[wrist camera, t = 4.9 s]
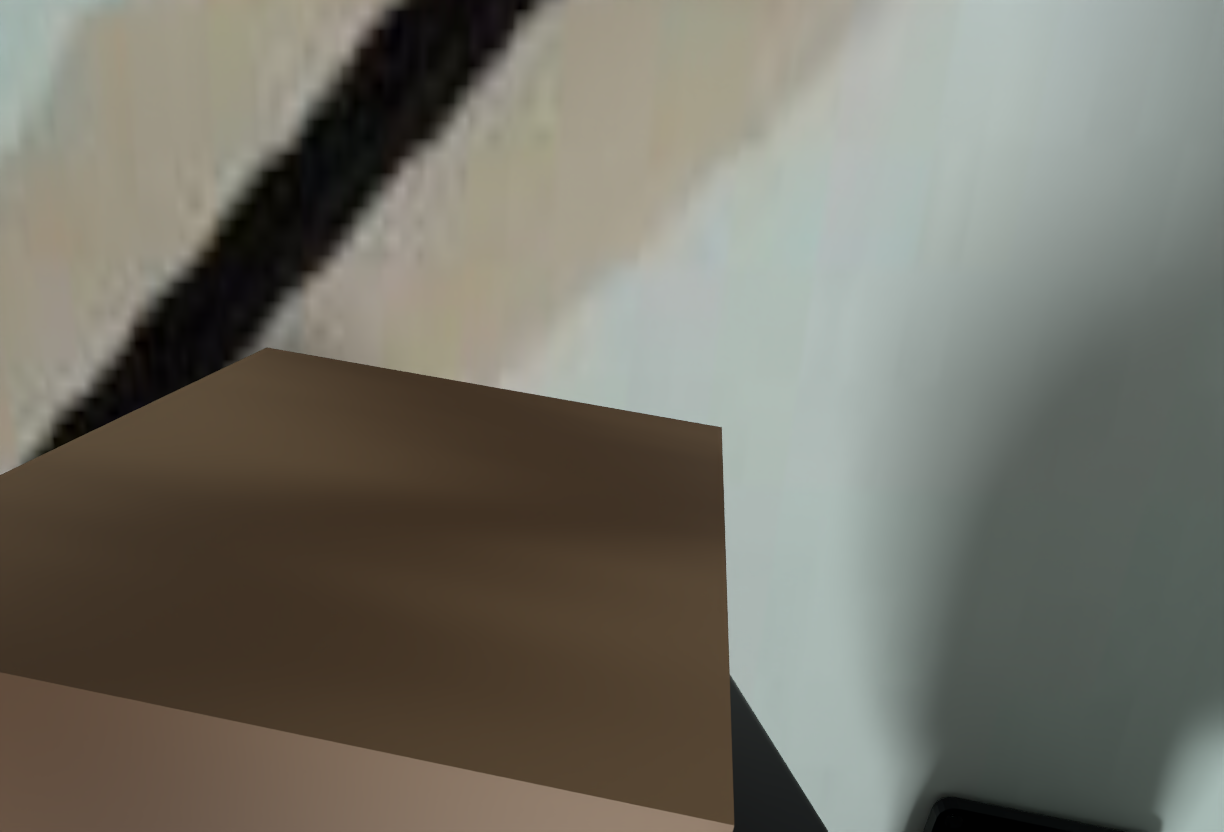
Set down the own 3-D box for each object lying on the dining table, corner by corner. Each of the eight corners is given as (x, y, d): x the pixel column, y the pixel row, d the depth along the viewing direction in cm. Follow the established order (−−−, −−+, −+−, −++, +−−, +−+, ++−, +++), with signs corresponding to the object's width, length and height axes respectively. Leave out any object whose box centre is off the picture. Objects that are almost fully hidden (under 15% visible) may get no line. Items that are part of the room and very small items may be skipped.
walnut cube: (721, 427, 8) (733, 824, 3) (647, 786, 10) (589, 1370, 5) (266, 348, 8) (-286, 613, 4) (274, 709, 10) (-94, 1194, 6)
